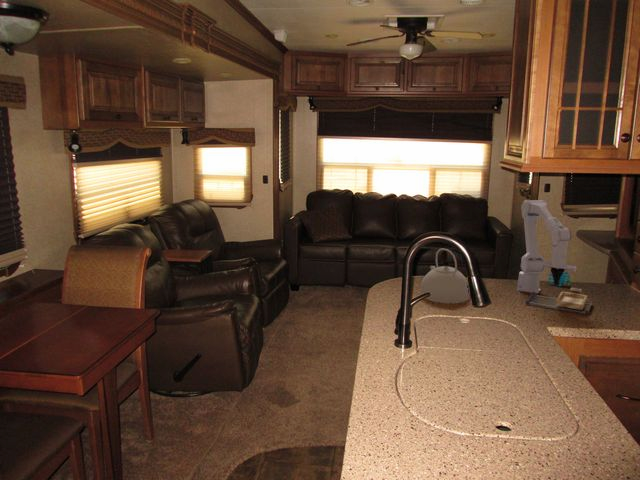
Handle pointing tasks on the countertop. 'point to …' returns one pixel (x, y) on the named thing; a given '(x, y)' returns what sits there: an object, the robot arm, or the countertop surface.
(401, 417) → the countertop surface
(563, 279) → the gear
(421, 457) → the countertop surface
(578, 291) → the part block
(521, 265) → the robot arm
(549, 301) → the rail base
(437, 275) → the kettle
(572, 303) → the shallow wooden tray
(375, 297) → the countertop surface
